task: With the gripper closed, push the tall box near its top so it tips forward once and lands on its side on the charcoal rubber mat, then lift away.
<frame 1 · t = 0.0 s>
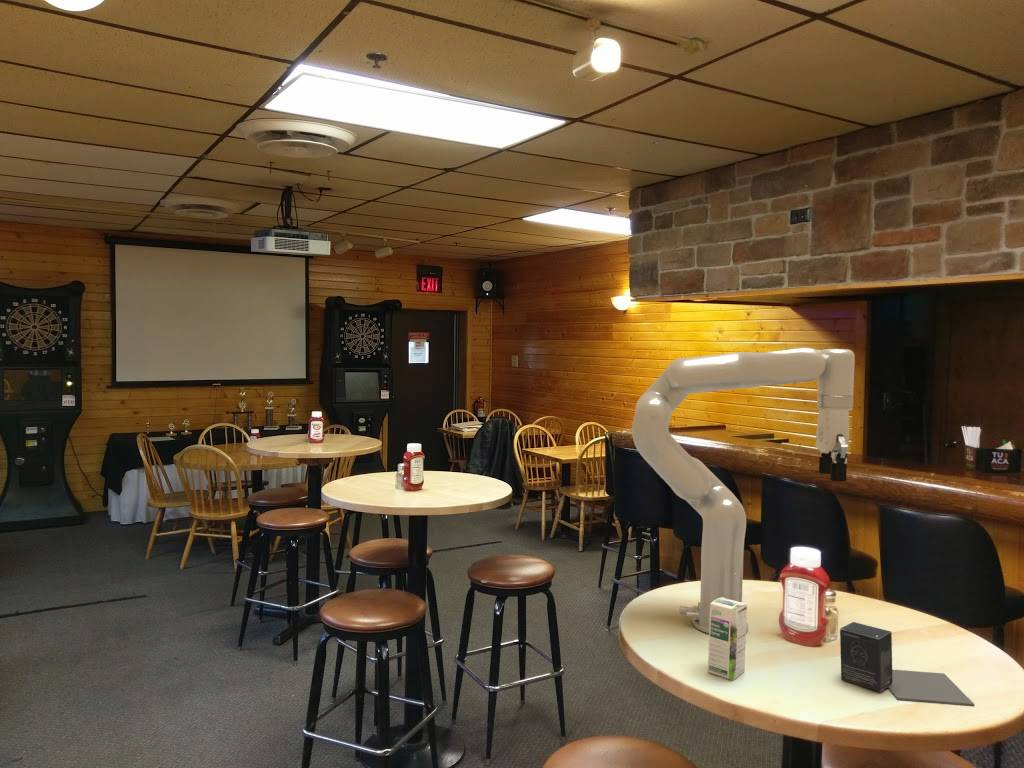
hand: (831, 477, 170), 37 cm above the table, tool pointing down, fingers open, 9 cm apart
mat: (921, 687, 145), on the table
box: (866, 682, 147), on the table, touching mat
syrup box: (726, 673, 151), on the table
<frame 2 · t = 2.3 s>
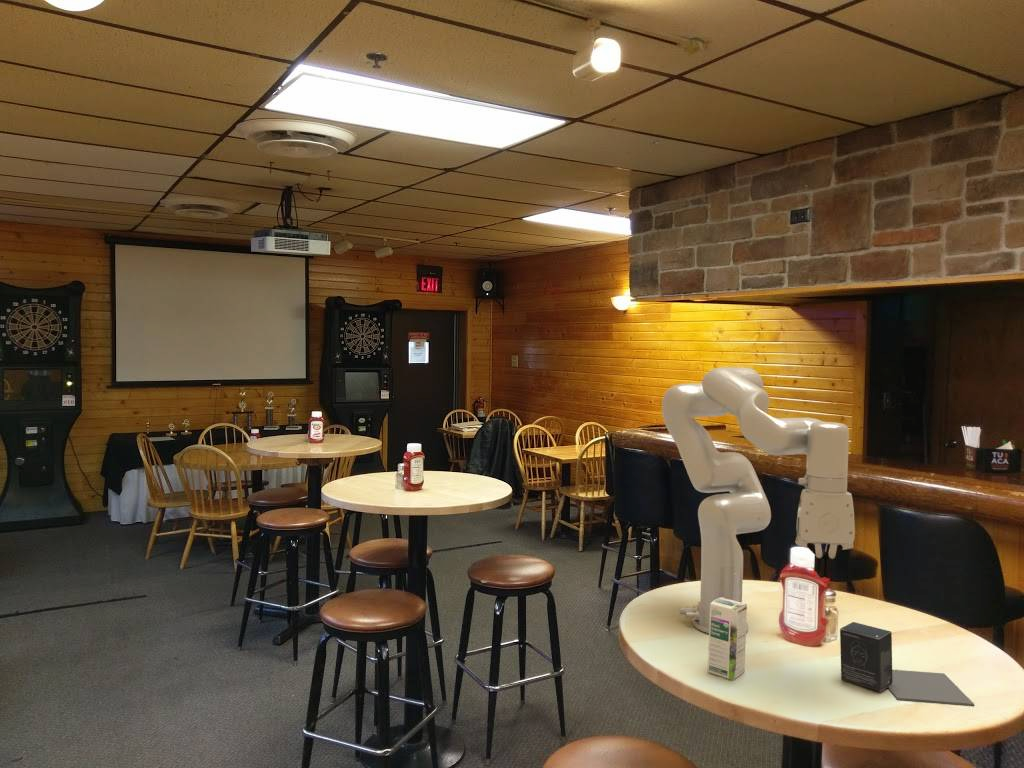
hand: (822, 575, 147), 21 cm above the table, tool pointing down, fingers closed
nothing on the table moved.
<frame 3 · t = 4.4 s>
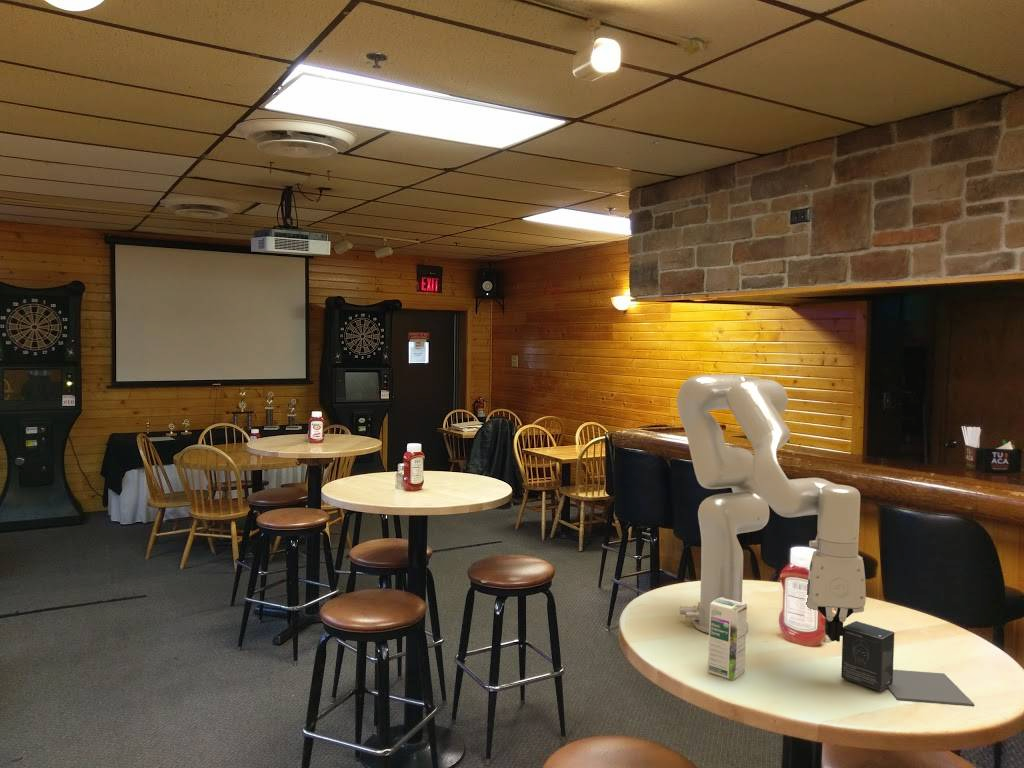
hand: (833, 638, 147), 9 cm above the table, tool pointing down, fingers closed
box: (866, 681, 147), on the table, touching gripper, mat
everything else where it was.
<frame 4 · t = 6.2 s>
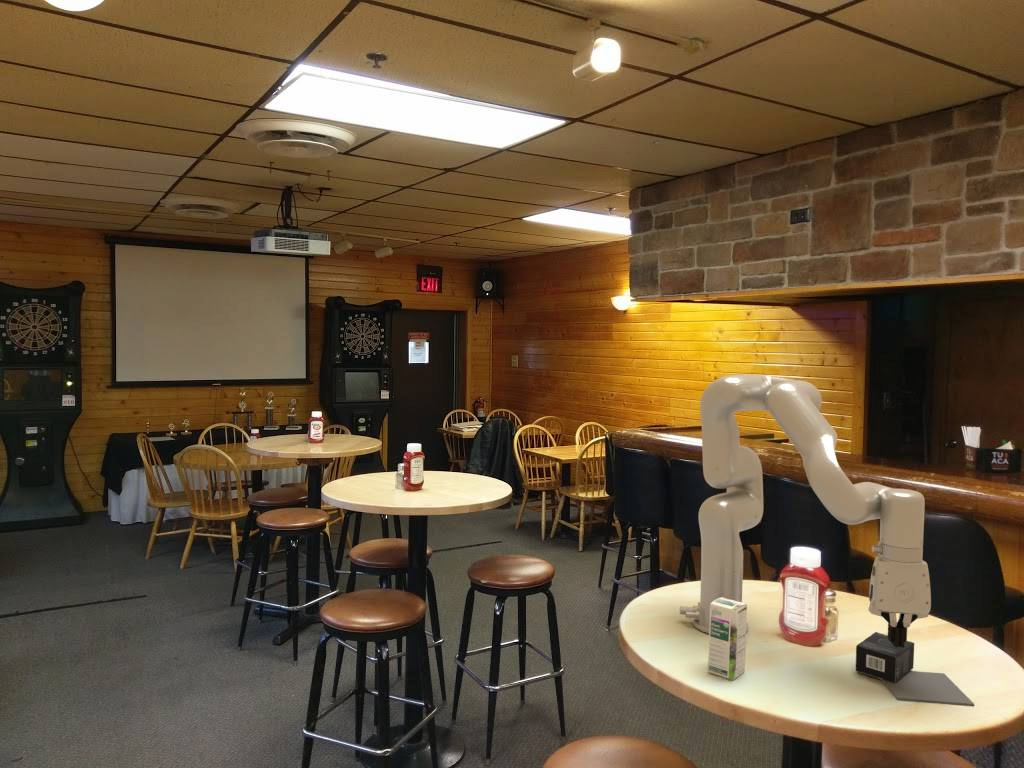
hand: (896, 644, 145), 8 cm above the table, tool pointing down, fingers closed
box: (874, 664, 148), point 3 cm above the table, touching mat
everything else where it was.
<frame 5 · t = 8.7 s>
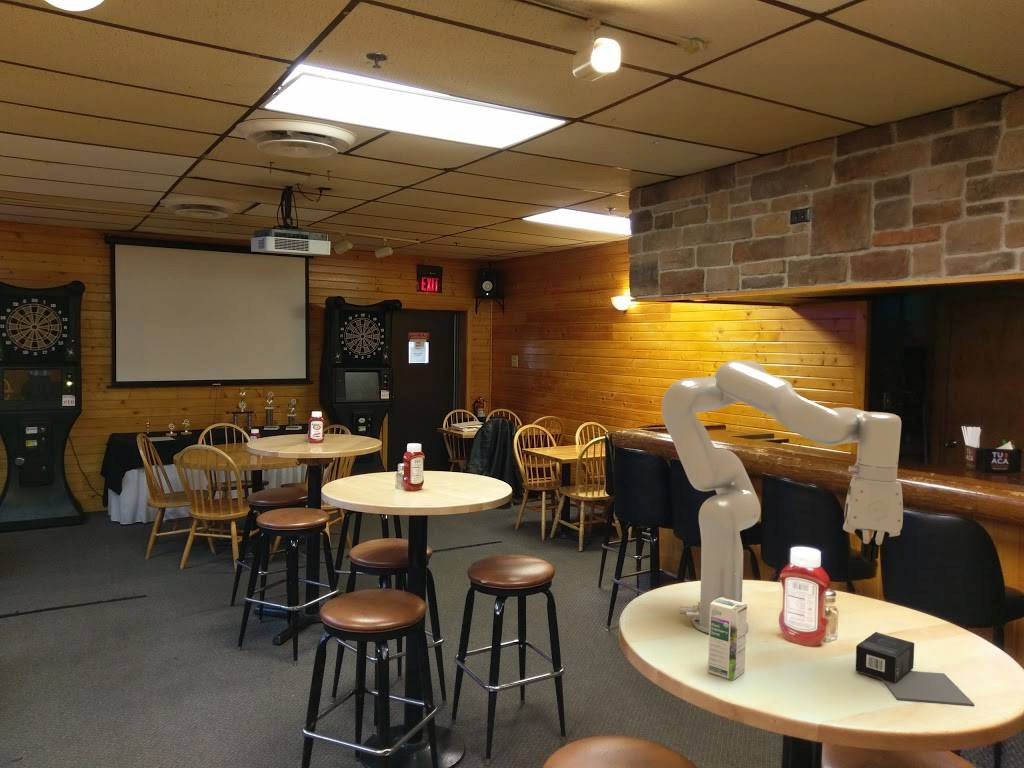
hand: (868, 561, 151), 23 cm above the table, tool pointing down, fingers closed
nothing on the table moved.
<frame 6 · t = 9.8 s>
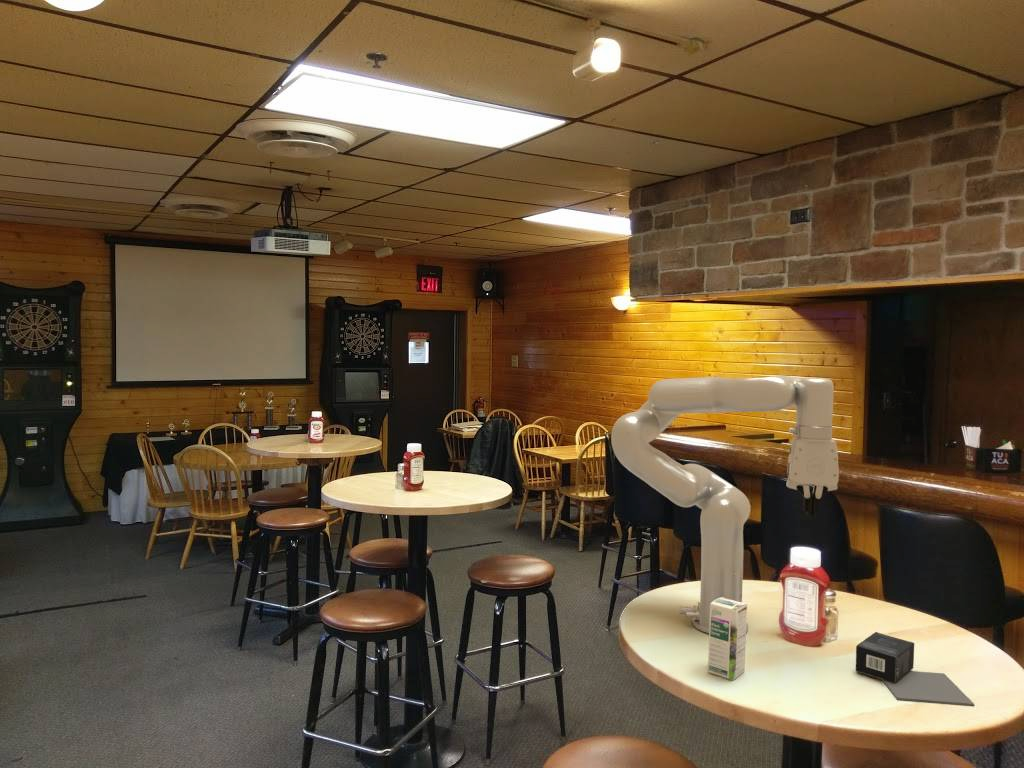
hand: (810, 514, 165), 29 cm above the table, tool pointing down, fingers closed
nothing on the table moved.
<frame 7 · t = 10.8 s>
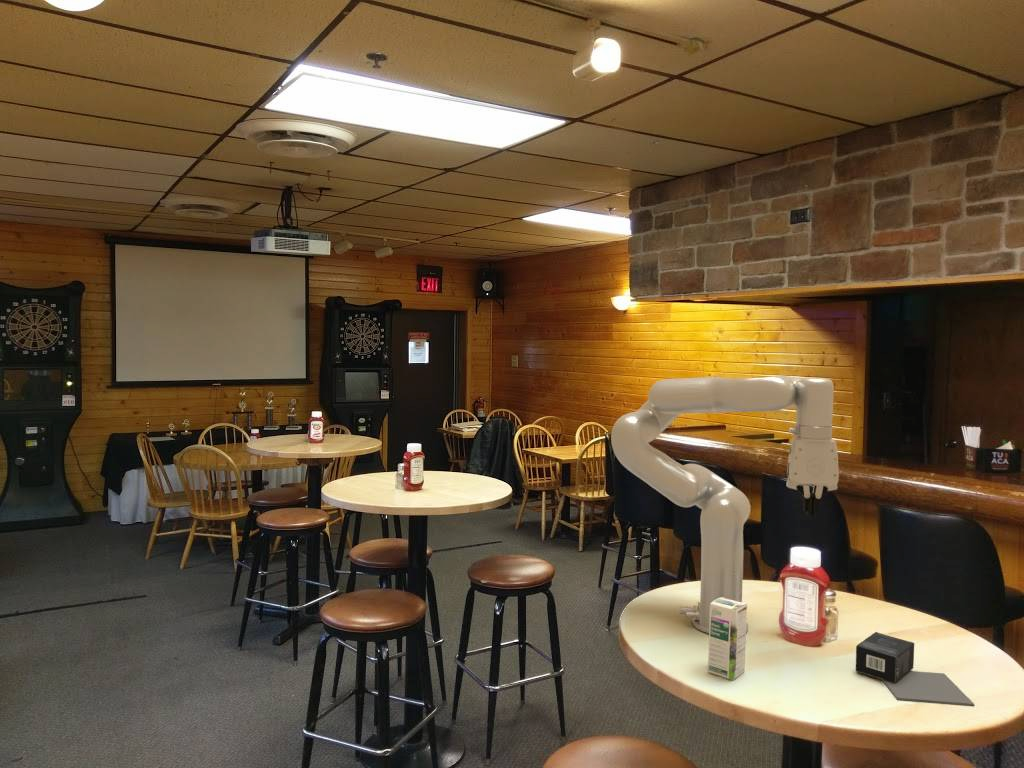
hand: (810, 514, 165), 29 cm above the table, tool pointing down, fingers closed
nothing on the table moved.
at the end: box tilted 89°; box inside the target area (3.5 cm from its centre), point 3.1 cm above the table; box touching mat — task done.
